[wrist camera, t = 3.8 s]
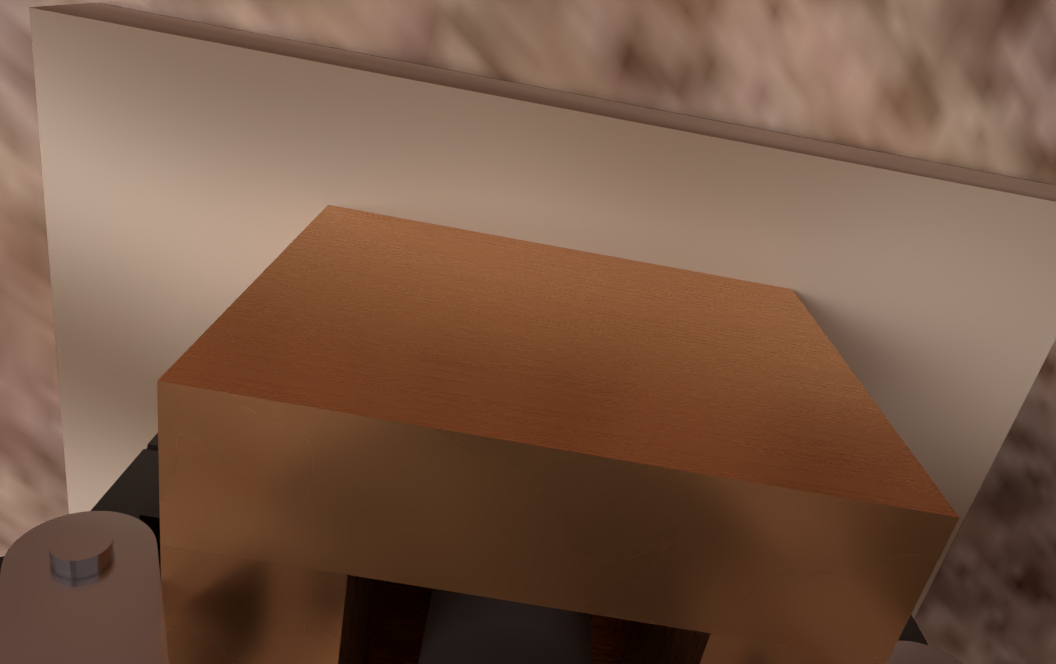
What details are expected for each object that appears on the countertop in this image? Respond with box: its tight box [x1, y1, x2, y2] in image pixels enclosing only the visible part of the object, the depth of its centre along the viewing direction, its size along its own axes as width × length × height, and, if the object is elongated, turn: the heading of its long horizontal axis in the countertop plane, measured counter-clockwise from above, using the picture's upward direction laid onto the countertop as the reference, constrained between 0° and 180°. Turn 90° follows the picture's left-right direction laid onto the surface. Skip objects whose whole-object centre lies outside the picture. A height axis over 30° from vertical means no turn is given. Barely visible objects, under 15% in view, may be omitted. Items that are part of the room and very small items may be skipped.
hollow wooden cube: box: [157, 205, 960, 664], centre depth 10 cm, size 6×6×5 cm
